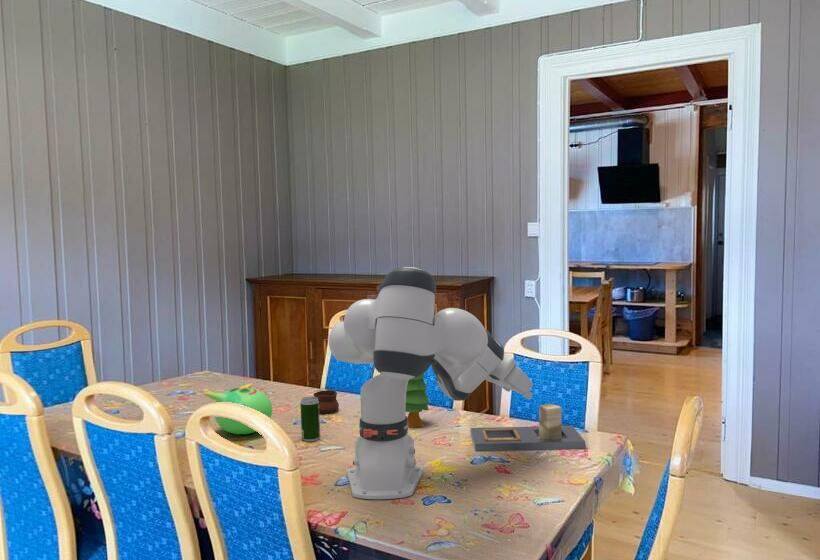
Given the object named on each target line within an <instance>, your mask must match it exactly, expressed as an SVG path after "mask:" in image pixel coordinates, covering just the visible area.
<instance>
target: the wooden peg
mask: <svg viewBox="0 0 820 560" xmlns="http://www.w3.org/2000/svg"><path fill="white" fill-rule="evenodd" d="M538 424H539V425H538V426H539V436H538V438H539V439H556V438H562V426H563V425H562V406H559V405H557V404H554V403H551V402H550V403H545V404H542V405H539V406H538Z"/></svg>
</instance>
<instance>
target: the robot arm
mask: <svg viewBox="0 0 820 560" xmlns="http://www.w3.org/2000/svg"><path fill="white" fill-rule="evenodd" d="M376 290H377V291H378V293H377V294H378V295H377V297H376V299H373V298H363V299H359V300H357V301H355V302H353V303H352V304H351V305H350V306H349V307H348V308H347V310H346V312H345V315H344V317H343V320H342V321H338V322H337V323H335V324H334V325H333V326H332V328H331V331H330V333H329V336H328V347H329V350H330V353H331V354H332V356H333V357H334V358H335V360H336V361H340V362H343V363H344V362H345V363H351V364H356V365H357V364H359V365H361V364H363V365H365V364H366V365H367V364H368V365H369V364H370V365H371V364H373V366H374V369H375V370H376V372H378V373H380V374H378V375H375V376H374V377H372V378H370V379H368V380H367V381H366V382H364V383H363V385H362V387H361V388H360V418H359V424H358V429H359V436H358V438H356V439H355V440H354V459H353V461H352V465H353V467H351V468H347V472H346V476H347V480H348V484H349V488H350V492H351V496H352V497H353V498H358V499H363V500H364V499H365V500H392V499H393V500H394V499H403V498H407V497H410V496H412V495H413V494H414V493H415V490H416V488H417V487H418V484H419V481H420V479H421V478H422V476H423V473H424V471H423V467H421V466H417V465H416V463H417V462H416V457H415V456H416V448H415V440H414V438H412V437H411V436H410V435H409V433H408V432H409V428H408V420H407V417H408V415H407V416H406V414H407V412H406V390H407V385H408V381H409V379H412V378H417V377H419V376H420V375H422V374H423V373H424V374H425V373H426V372H427V371H428V370H429V369H430V368H431V369H432V371H433V373H434V376H435V381H436V382H437V385H438V387H439V389H440V390H441V392H442V393H443V394H444V395H445V396H446V397H448V398H449V399H451V400H453V401H456V402H458V401H461V402H462V401H467V399H468V398H469V397H470V396H471V395H472V394H473V392H474V390H476V389H477V388H478V387H479V386H480V385H481V384H482V383H483V382H484V381H487V382H488V383H489V382H490V383H493V384H495V385H498V386H500V388H502V389H503V390H504V391H506V392H509V393H510V392H511V391H513V392H516V393H519V394H521V395H522V397H523V398H524V399H526V400H530V401H531V399H532V398H533V393H532V392H531V390H532V388H533V386H534V384H533V382H532V380H531V379H530V377H528V375H527V374H526V373H525V372H524V371H523V370H522V368H520V367H519V366H518V365H516V364H517V361H516V360H515V359H514V358H513V357H511V356H509V355H507V354H506V353H505V351H504V350H505V349H504V346H503V345H502V343H500V342H499V341H498V340H497V339H496V338H494V337H493V335H492V334H491V332H490V331H489V330H488V329H486V328H485V326H484V325H483V323H482V322H481V321H480V320H479V319H478V318H477V317H476V316H475V315H474V314H472V313H471V312H469V311H466V310H465V309H462V308H458V307H448V308H447V307H446V308H444V309H443V308H442V309H441V310H440V311H438V312H436V313H435V305H436V301H435V299H436V298H435V297H436V295H437V283H436V279H435V277H433V275H432V274H430V273H429V271H425V270H423V269H421V268H417V267H414V266H403V267H396V268H394V269H393V270H391V271H390V272H389V273H387V274H386V276H385V278H384V279H383V281H382V282H381V283H379V284H378V285H376Z"/></svg>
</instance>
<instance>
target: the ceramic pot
mask: <svg viewBox="0 0 820 560" xmlns="http://www.w3.org/2000/svg"><path fill="white" fill-rule="evenodd" d="M312 394H313V395H312V396H313V397H317V398H318V401H319V416H320V415H323V416H325V415H326V416H327V414H328V415H333V414H336V413H337V412H338V410H339V407H340V406H339V401H338V399H337V396H338V395H337V394H338V391H337V390H334V389H326V390H318V391H317V392H314V393H312ZM335 412H336V413H335ZM332 413H333V414H332Z"/></svg>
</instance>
